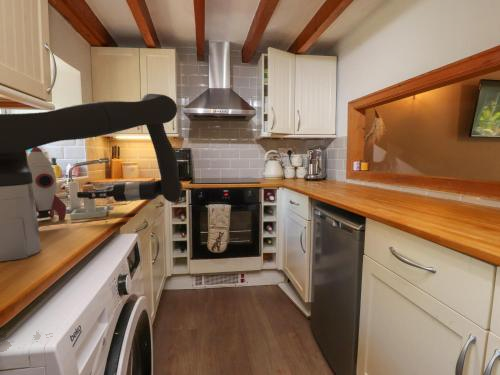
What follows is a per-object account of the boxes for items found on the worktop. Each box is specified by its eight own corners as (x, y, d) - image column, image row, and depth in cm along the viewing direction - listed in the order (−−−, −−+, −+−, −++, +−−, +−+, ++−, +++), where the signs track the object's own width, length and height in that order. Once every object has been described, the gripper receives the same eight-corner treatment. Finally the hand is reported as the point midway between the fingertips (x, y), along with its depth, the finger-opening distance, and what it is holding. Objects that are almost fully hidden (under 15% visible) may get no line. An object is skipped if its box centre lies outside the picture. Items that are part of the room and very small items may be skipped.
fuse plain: (80, 212, 108) (77, 182, 106) (69, 213, 106) (66, 182, 105) (82, 210, 111) (79, 181, 110) (71, 211, 110) (68, 181, 108)
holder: (113, 213, 111) (112, 206, 111) (32, 221, 100) (31, 213, 100) (114, 210, 118) (113, 203, 117) (38, 217, 107) (37, 209, 106)
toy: (29, 230, 88) (17, 136, 84) (20, 225, 94) (8, 138, 90) (68, 223, 97) (59, 137, 93) (57, 219, 103) (48, 139, 99)
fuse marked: (95, 216, 102) (92, 185, 100) (84, 218, 100) (81, 186, 99) (96, 214, 105) (93, 184, 104) (86, 216, 104) (82, 185, 102)
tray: (106, 220, 100) (105, 211, 100) (71, 223, 96) (70, 214, 95) (108, 214, 110) (107, 206, 110) (76, 217, 106) (75, 208, 105)
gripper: (132, 180, 110) (89, 181, 108) (122, 183, 96) (72, 185, 94) (134, 198, 111) (91, 199, 109) (123, 204, 97) (74, 206, 95)
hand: (82, 193), depth 101 cm, fingers open, 7 cm apart
